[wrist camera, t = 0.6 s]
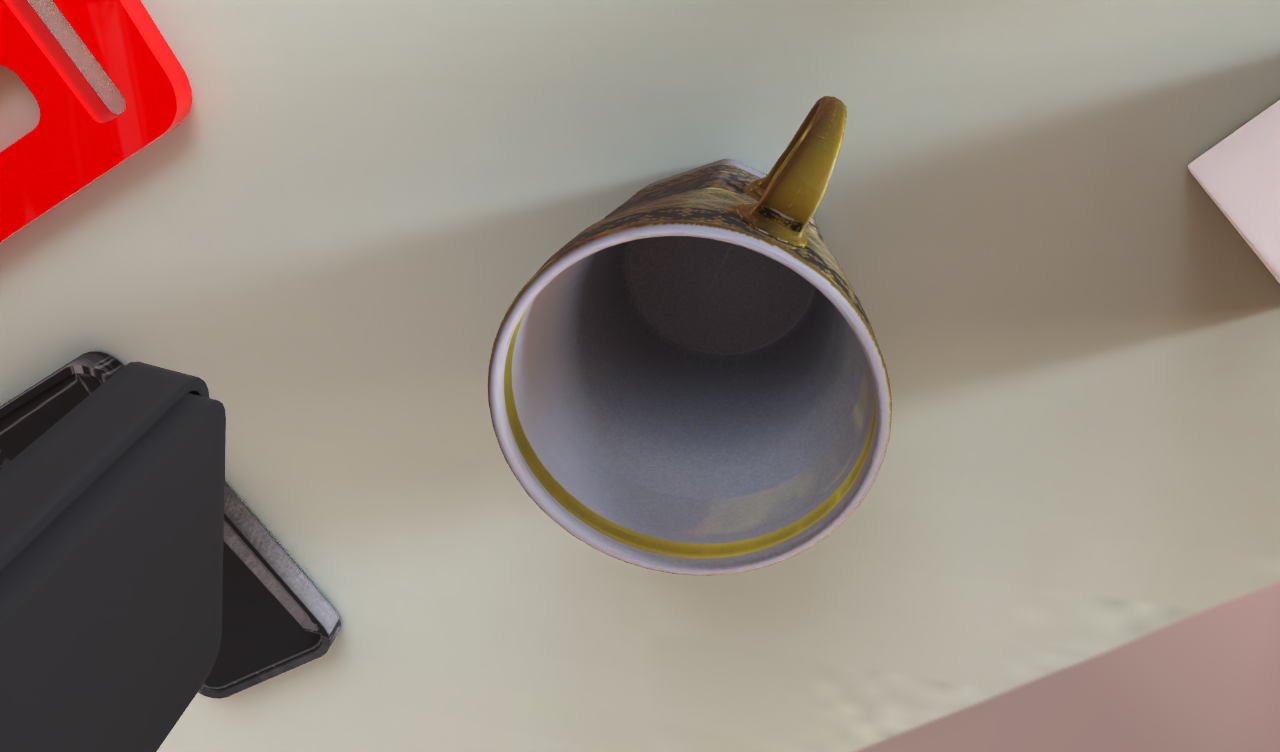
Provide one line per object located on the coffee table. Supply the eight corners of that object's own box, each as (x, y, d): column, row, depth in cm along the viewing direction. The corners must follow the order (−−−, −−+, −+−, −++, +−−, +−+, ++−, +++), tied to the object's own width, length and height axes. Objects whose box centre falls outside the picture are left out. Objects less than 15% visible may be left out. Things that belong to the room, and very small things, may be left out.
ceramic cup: (792, 439, 39) (776, 632, 31) (528, 320, 39) (436, 481, 30) (994, 103, 33) (1047, 225, 24) (681, -47, 32) (621, 25, 24)
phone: (85, 354, 41) (341, 648, 46) (103, 341, 42) (351, 629, 47) (-48, 439, 44) (206, 706, 49) (-28, 424, 45) (218, 687, 50)
